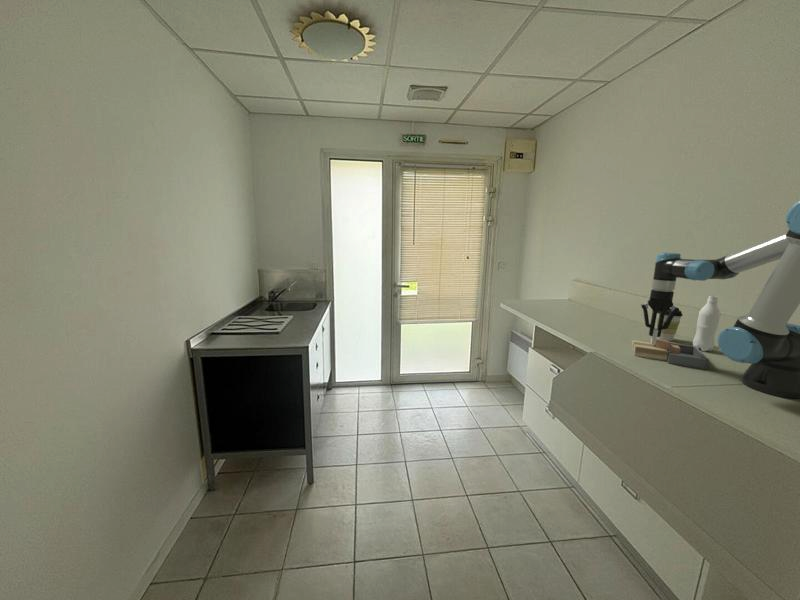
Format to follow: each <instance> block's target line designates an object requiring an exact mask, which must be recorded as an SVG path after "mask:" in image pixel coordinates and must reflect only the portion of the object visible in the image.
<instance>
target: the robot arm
mask: <svg viewBox="0 0 800 600" xmlns="http://www.w3.org/2000/svg"><path fill="white" fill-rule="evenodd" d="M785 223H786V224H787V228H788V231H786V232H782V233H780V234H778V235H775V236H773V237H769V238H767V239H765V240H762V241H759V242H757V243H755V244H752V245H750V246H747V247H744V248H742V249H739V250H737V251H734V252H732V253H729V254H727V255H725V256H722V257H720V258H716V259H690V258H689V259H685V258H681V253H676V252H659V253H658V254H657V256H656V261H655V262H654V263H655V265H654V271H653V272H654V273H653V279H652V284H651V288H652V289H651V290H650V295H649V299H648V301H647V302H646V303H641V304H640V306H641V308H642V311H643V312H642V313H643V317H644V325H645V327H647V328H649V331H648V336H650V337H651V338H650V342H651V344H655V345H656V340H657V339H658V338H657V337H660V335H661V330H663V329H667V328H668V326H669V324H670V323H671V321H672V319H673V317H674V315H675V313H676V312H678V311H679V310H680V308H679V307H677V306H675V305H674V302H673V298H674V294H675V292H674V290H675V289H676V283H677V279H678V278H679V279H685V280H691V281H703V282H705V281H706V280H727V279H733V278H735V277H737V276H738V275H739V274H740V273H743V272H745V271H748V270H752V269H754V268H757V267H761V266H763V265H766V264H769V263H772V262H775V261H777V263H776V265H775V267H774V269H773V270H772V272H771V274H770V275H769V277H768V279H767V281H766V283H765V284H764V286H763V288H762V289H761V291H760V293H759V294H758V295H757V298H756V299H755V301H754V303H753V305H752V306H751V308H750V309H749V311H748V313H747V314H744V315H740V316H738V318H737V319H736V321H735V323H734V325H733V326H730V327H726V328H724V329H722V330H721V331H720V333H719V334H718V335H717V336H718V337H717V345H718V347H719V348H720V352H721V353H722V354H723V355H724V356H725V357H726V358H728V359H729V360H731V361H733V362H736V363H740V364H749V366H748V367H747V368H746V370H745V371H744V372H743V374H742V375H741V379H740V380H741V381H740V382H741V383H742V384H743V385H744V386H746V387H749V388H751V389H753V390H755V391H760V392H762V393H765V394H769V395H771V396H772V395H773V396H776V397H781V398H788V399H798V400H800V325H798V324H793V323H788V322H789V321H790V319H791V318H792V316H793V314H794V313H795V312H796V310H797V308H798V307H799V305H800V199H799V200H798V201H796V202H795V203H793V205H792V206H791V207H790V208H789V210H787V213H786V215H785ZM649 307H650V310H652V313H651V318H650V320H649V312H648V309H649ZM668 309H671V311H670V313H669V315H668V317H667V319H666V321H665V323H664V325H663V320H664V315H665V312H666V311H667V310H668ZM658 311H660V315H659V321H658V326H657V325H656V323H657V321H656V320H657V317H658V313H657V312H658ZM655 326H656V327H655Z"/></svg>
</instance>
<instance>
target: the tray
mask: <svg viewBox="0 0 800 600" xmlns="http://www.w3.org/2000/svg"><path fill="white" fill-rule="evenodd" d="M669 343H670V345H671V344H672V345H678V346H679V347H680V348H681V349H680V353H679V355H678V354H671V353H669V349H670V347H669V349H667V351H668V353H669V354H668V356H667V361H666V362H667V364H670V365H677V366H683V367H688V368H696V369H700V370H701V369H702V370H707V369H708V366H709V363H710V362H709V361H710V359H708V357H707V356H706V355H705V354H704V353H703V351H702V350H700V349H698V348H697V347H696V346H693V345H689V344H681V343H674V342H669Z"/></svg>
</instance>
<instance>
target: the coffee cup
mask: <svg viewBox="0 0 800 600" xmlns="http://www.w3.org/2000/svg"><path fill="white" fill-rule="evenodd" d="M670 311H671V308H670V309H668V310H667V311H666V312H665V315H664V320H663V325H664V323H665V321H666V319H667V317H668V315H669V313H670ZM659 315H660V311H658V312H657V317H656V320H657V321H656V327H657V326H658V321H659ZM682 317H683V313H682V310H680V309H679V311H678V312H676V313H675V315H674V317H673V319H672V321H671V323H670V324H669V326H668V328H667V329H663V330H661V335H660V337H657V339H660V340H668V341H669V342H672V341H673V340H674V339H675V335H676V333H677V331H678V328H679V324H680V323H681V318H682Z"/></svg>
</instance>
